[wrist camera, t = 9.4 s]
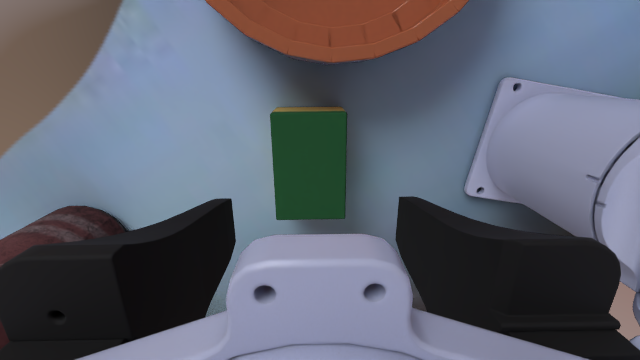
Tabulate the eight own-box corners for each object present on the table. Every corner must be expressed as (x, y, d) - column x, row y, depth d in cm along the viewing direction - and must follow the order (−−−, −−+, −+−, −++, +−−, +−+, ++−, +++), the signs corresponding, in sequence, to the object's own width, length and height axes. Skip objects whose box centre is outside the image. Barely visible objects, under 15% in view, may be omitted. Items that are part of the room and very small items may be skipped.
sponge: (276, 107, 20) (269, 113, 17) (341, 106, 20) (347, 112, 17) (281, 199, 22) (276, 220, 19) (340, 198, 22) (345, 219, 19)
